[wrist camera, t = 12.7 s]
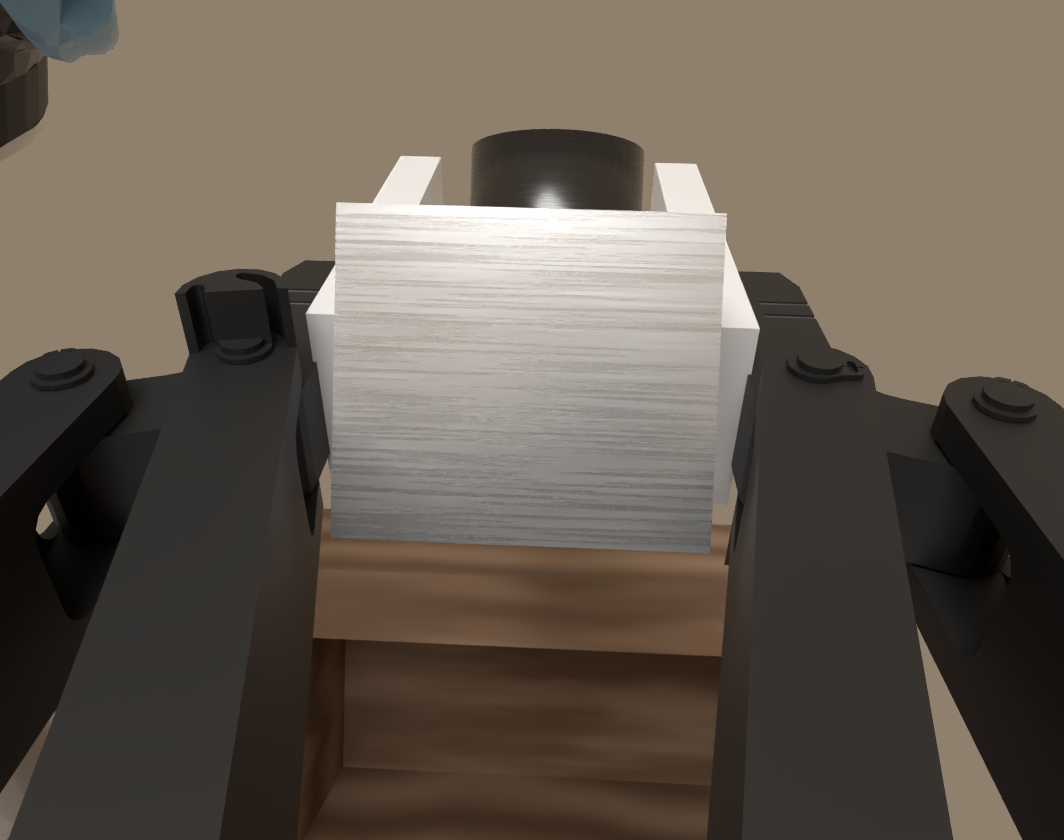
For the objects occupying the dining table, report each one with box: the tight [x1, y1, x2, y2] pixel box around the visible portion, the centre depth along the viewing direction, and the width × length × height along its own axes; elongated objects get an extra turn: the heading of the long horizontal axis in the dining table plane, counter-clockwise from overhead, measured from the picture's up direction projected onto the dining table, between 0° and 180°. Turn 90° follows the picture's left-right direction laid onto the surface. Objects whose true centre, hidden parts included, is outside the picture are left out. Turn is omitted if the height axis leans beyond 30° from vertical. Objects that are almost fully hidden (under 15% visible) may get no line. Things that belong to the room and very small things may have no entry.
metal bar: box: [330, 129, 727, 553], centre depth 23 cm, size 30×7×10 cm, turn 178°
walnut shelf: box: [297, 509, 732, 840], centre depth 43 cm, size 14×28×30 cm, turn 88°
